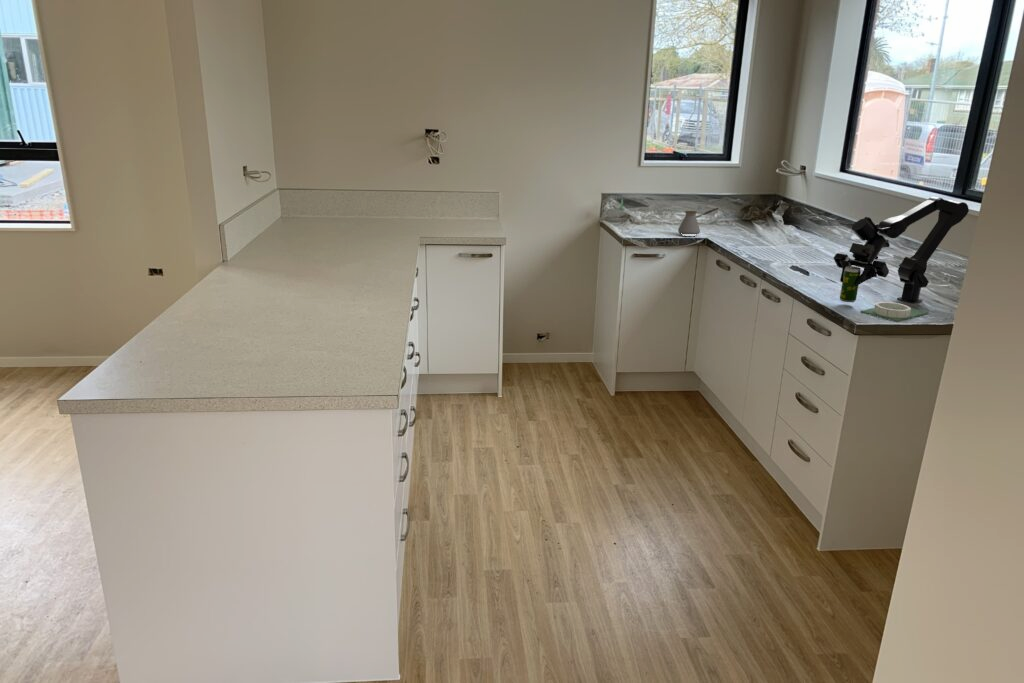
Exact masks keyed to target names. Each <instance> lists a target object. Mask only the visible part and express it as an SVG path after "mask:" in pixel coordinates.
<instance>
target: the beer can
mask: <svg viewBox="0 0 1024 683" xmlns="http://www.w3.org/2000/svg"><path fill="white" fill-rule="evenodd" d="M861 269H862V267H857V266H853V265H852V266H847V267H846V268H845V270H844V275H843V281H842V282H841V289H840V293H839V300H840V301H841V302H844V303H855V302H856V300H857V296H858V291H859V285H860V284H859V285H857V286H856V285H855V283H856V281H857V279H858V278H859V276H860V275H861V274H862V271H861Z"/></svg>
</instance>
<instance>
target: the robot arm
mask: <svg viewBox="0 0 1024 683" xmlns="http://www.w3.org/2000/svg"><path fill="white" fill-rule="evenodd" d="M936 211H938V217H937V221H936V223H935V224H934V226H933V228H932V229H931V230H930V232H929V233H928V234H927V236H926V237H925V239H924V240H923V242H922V243H921V244H920V246H919V248H917V251H916V252H915V253H914V254H913V255H911V257H907V256H905V257H904V258H903V260H902V262H901V263H900V264H898V269H897V274H898V276H899V282H902V283H903V288H902V292H901V293H902V294H901V296H900V297H896V299H897V300H899V301H903V302H907V303H911V304H915V303H920V302H923V299H921V298H920V294H921V291H922V288H926V287H927V286H928V284H929V283H930V281H929V280H928V279H927V277H926V275H925V274H926V272H927V267H928V261H929V260H930V259H931V257H932V256H933V254H934V253H935V251H937V249H938V247H939V246H940V244H941V243H942V241H943V240H944V238H945V237H946V236H947V234H948V233H949V231H950V230H951V229H952V228H953V227H954V226H956V225H958V224H959V223H961V222H962V221H963V220H964V219H965V217H967V215H968V214H969V211H970V209H969V205H968V204H967V203H966V202H964V201H963V202H962V201H958V200H953V199H949V200H947V199H943V198H942V197H937V196H930V197H929V198H928V199H927V200H925V201H923V202H922V203H919V204H918V205H916V206H914V207H913V208H911V209H909V210H907V211H905V212H904V213H902V214H900V215H897V216H891V217H888V218H886V219H883V220H881V221H880V222H878V223H874V222H873V220H872V218H871V217H870V216H865V217H864V218H861V219H859V220H857V221H855V222H854V223H853V224H852V226H851V230H852V232H853V233H854V234H855V235H856V236H857V237H858V238H859V240H861V241H862V242H865V243H864V244H860V243H854V242H852V244H851V246H850V248H849V253H852V255H851V256H852V258H854V259H852V258H850V256H848V254H846V253H841V252H838V253H836V254H835V255H834V256H833V260H834V262H835V264H836V267H838V268H839V269H841V274H840V279H839V282H840V283H842V281H843V275H844V270H845V268H846V267H847V266H853V267H859V268H861V269H863V270H862V271H861V274H860V276H859V278H858V279H857V281H856V283H855V285H856V286H857V285H861V284H863V283H864V282H867V281H868V280H871V279H873V278H877V277H882V278H886V277H887V276H888V275H889V274H890V270H889V267H888V266H887V263H886V261H881V260H878V258H879V256H878V255H879V254H880V252H881V251H882V249H883V248H890V247H891V246H890V243H889V242H890V241H889V239H896V238H898V237H899V236H901V235H902V234H903V233H905V232H906V230H907V229H908V227H909V226H912V225H913V224H915V223H916V222H918V221H920V220H922V219H923V218H925V217H928V215H931V214H932V213H934V212H936ZM885 237H887V238H889V239H886V238H885Z"/></svg>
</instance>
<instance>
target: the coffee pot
mask: <svg viewBox="0 0 1024 683" xmlns="http://www.w3.org/2000/svg"><path fill="white" fill-rule="evenodd" d="M715 211H718V212H720V208H719V207H715V208H712V209H709V210H708V211H706V212H704V213H701V214H698V215H697V213H698V211H695V210H684V213H685V216H684V217H683V220H682V221H681V223H680V226H678V229H677V230H678V231H677V232H678V234H680V233H682V234H698V235H699V234H701V229H700V227H699V226H700V225H699V224H698V218H700V217H702V216H705V215H707V214H711V213H712V212H715Z"/></svg>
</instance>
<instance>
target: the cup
mask: <svg viewBox="0 0 1024 683" xmlns="http://www.w3.org/2000/svg"><path fill="white" fill-rule="evenodd" d="M873 308H874V312H875V313H877V314H879V315H883V316H887V317H894V318H906V317H909V316H910V312H911V308H912V307H911V306H908V305H906V304H902V303H899V302H891V301H877V302H875V304H874V307H873Z"/></svg>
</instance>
